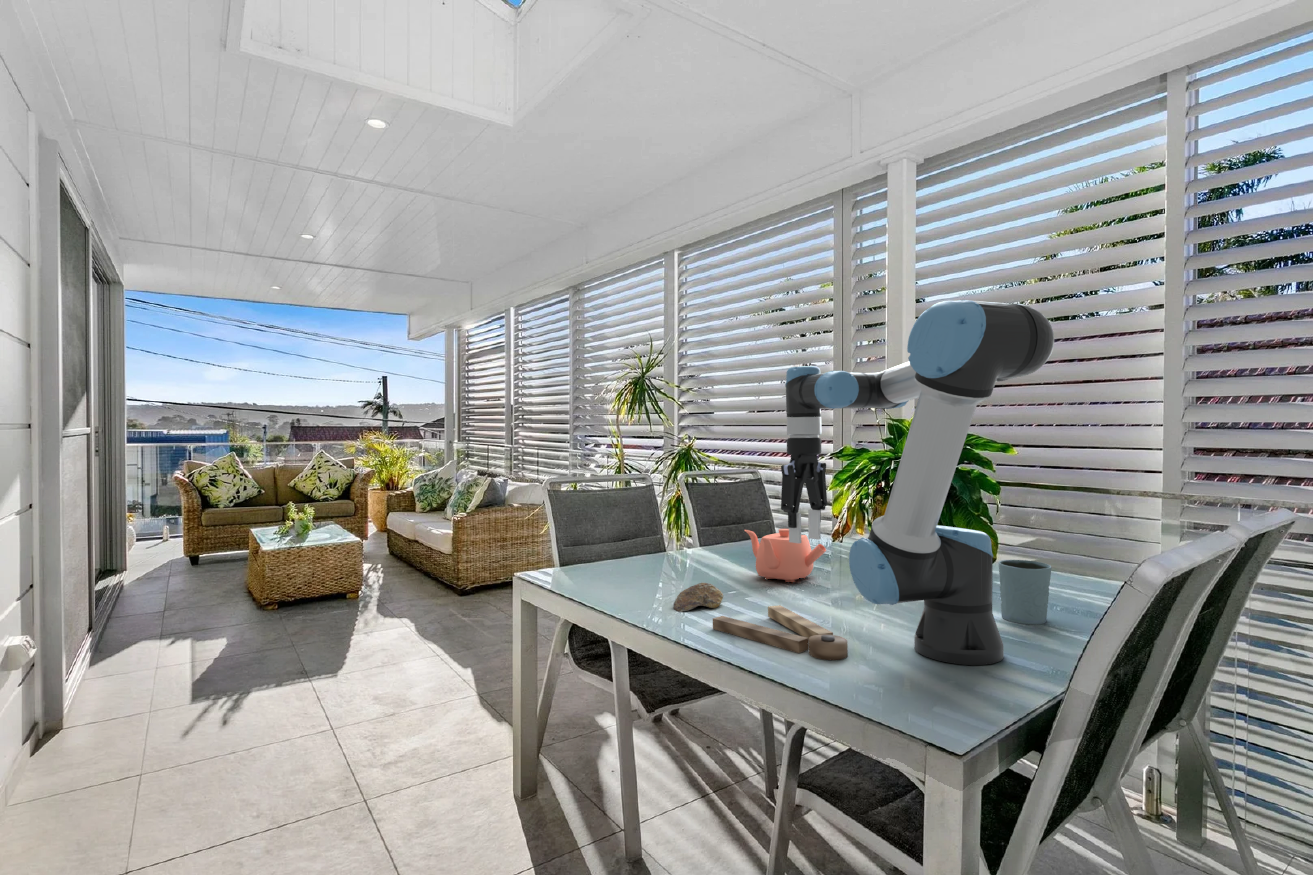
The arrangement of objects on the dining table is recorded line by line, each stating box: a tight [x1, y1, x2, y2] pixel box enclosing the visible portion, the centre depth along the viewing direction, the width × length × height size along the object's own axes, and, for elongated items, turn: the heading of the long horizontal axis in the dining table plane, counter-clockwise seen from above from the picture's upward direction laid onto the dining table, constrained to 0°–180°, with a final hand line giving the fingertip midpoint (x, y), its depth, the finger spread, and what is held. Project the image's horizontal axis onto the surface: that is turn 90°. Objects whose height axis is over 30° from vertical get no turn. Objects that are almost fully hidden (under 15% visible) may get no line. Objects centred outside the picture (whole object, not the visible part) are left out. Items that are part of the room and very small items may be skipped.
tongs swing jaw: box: [767, 604, 834, 641], centre depth 142 cm, size 22×3×2 cm, turn 17°
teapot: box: [744, 528, 827, 583], centre depth 192 cm, size 18×18×14 cm
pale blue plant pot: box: [998, 559, 1052, 625], centre depth 149 cm, size 10×10×12 cm
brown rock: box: [673, 581, 724, 613], centre depth 164 cm, size 10×12×5 cm
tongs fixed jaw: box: [712, 615, 849, 661], centre depth 136 cm, size 30×7×3 cm, turn 42°
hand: (804, 540), depth 152 cm, fingers open, 6 cm apart
